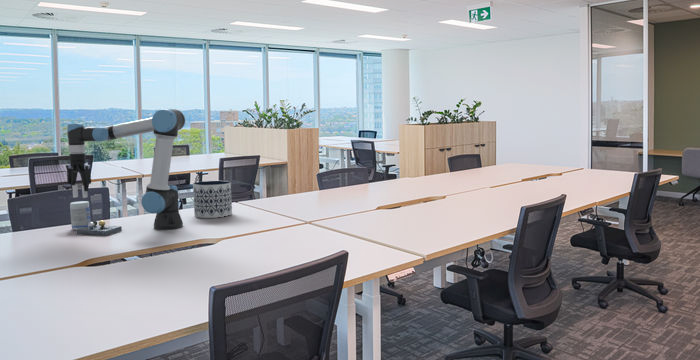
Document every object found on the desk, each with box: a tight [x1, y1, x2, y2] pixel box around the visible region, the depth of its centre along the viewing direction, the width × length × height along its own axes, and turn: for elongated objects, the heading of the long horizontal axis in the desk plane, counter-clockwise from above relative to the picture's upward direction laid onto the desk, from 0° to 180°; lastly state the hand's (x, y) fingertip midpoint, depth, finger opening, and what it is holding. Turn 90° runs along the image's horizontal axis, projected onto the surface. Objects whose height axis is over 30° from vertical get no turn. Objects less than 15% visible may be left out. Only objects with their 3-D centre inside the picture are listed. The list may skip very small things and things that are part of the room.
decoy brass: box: [98, 220, 106, 227], centre depth 283 cm, size 3×3×3 cm
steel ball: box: [88, 221, 95, 228], centre depth 279 cm, size 3×3×3 cm
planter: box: [192, 180, 233, 219], centre depth 325 cm, size 22×22×20 cm
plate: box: [75, 224, 123, 237], centre depth 280 cm, size 18×12×2 cm, turn 75°
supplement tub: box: [69, 200, 92, 231], centre depth 290 cm, size 10×10×15 cm
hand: (80, 197), depth 279 cm, fingers open, 5 cm apart
